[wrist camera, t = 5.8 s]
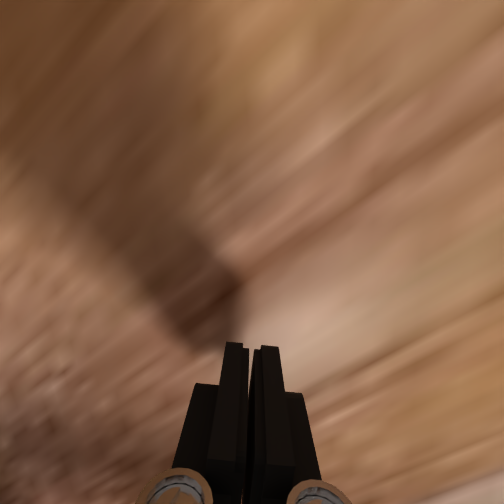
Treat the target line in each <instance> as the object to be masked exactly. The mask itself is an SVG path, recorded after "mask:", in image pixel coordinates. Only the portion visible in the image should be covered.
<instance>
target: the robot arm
mask: <svg viewBox="0 0 504 504" xmlns="http://www.w3.org/2000/svg"><path fill="white" fill-rule="evenodd" d="M248 376H249V349H248V348H243V343H235V342H226V346H225V352H224V358H223V364H222V370H221V377H220V383H219V385H211V384H200V383H196V384H195V386H194V389H193V393H192V397H191V400H190V404H189V407H188V411H187V415H186V418H185V422H184V425H183V429H182V433H181V436H180V440H179V443H178V447H177V451H176V454H175V458H174V461H173V465H172V468H171V469H169V470H166V471H164V472H162V473H160V474H158V475H156V476H155V477H154V478H153V479H152V480H151V481H149V482H148V483H147V484H146V486H145V487H144V489H143V490H142V492H141V493H140V495H139V496H138V498H137V500H136V502H135V504H241V497H242V504H352V503H351V501H350V500H349V499H348V498H347V497H346V496H345V495H344V493H343V492H342V491H340V490H339V489H337V488H336V487H335V486H333V485H332V484H329V483H327V482H324V481H322V479H321V475H320V470H319V465H318V461H317V456H316V452H315V447H314V443H313V438H312V434H311V429H310V425H309V420H308V415H307V411H306V406H305V402H304V398H303V395H302V393H294V392H285V389H284V382H283V374H282V367H281V360H280V353H279V347H276V346H266V345H261V349H260V350H258V349H254V355H253V363H252V371H251V379H250V387H249V395H248ZM242 489H243V492H242Z"/></svg>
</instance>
